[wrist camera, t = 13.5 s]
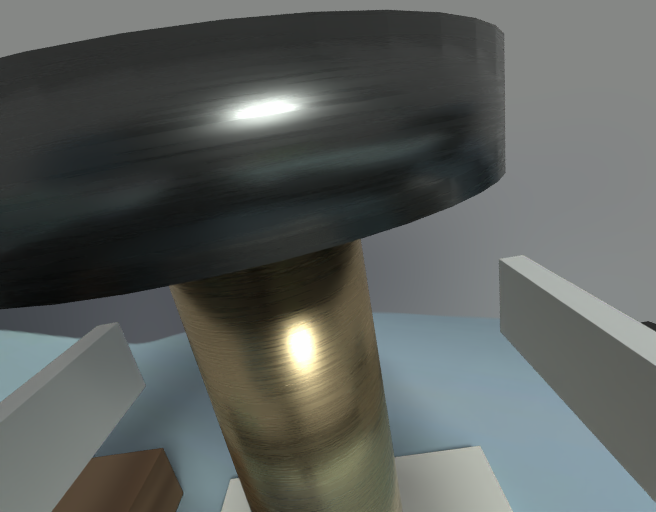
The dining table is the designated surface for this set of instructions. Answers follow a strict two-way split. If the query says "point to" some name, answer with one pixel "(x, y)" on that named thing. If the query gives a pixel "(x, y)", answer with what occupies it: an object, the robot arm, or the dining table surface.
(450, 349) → the dining table surface
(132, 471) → the eye block
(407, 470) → the pad
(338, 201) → the mushroom top post
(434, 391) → the dining table surface
